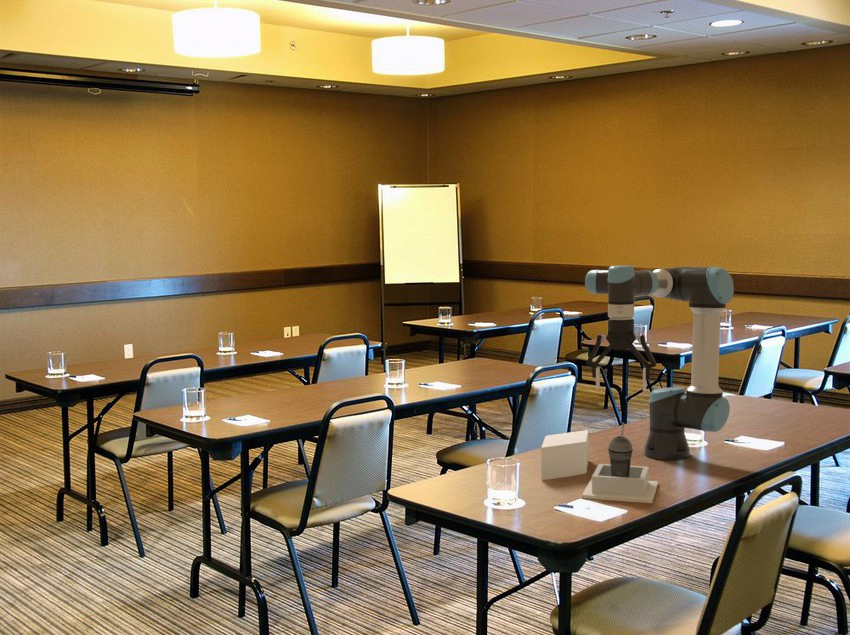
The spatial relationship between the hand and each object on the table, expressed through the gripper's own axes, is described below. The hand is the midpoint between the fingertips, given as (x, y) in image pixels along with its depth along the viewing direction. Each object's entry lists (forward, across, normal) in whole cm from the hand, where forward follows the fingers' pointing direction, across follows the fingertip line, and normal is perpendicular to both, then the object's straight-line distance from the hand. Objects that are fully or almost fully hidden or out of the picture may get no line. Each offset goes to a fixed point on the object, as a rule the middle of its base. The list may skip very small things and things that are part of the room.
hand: (621, 389), depth 277 cm
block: (+31, -20, +20) cm, 42 cm away
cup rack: (+31, 0, 0) cm, 31 cm away
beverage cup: (+30, 0, 0) cm, 30 cm away
